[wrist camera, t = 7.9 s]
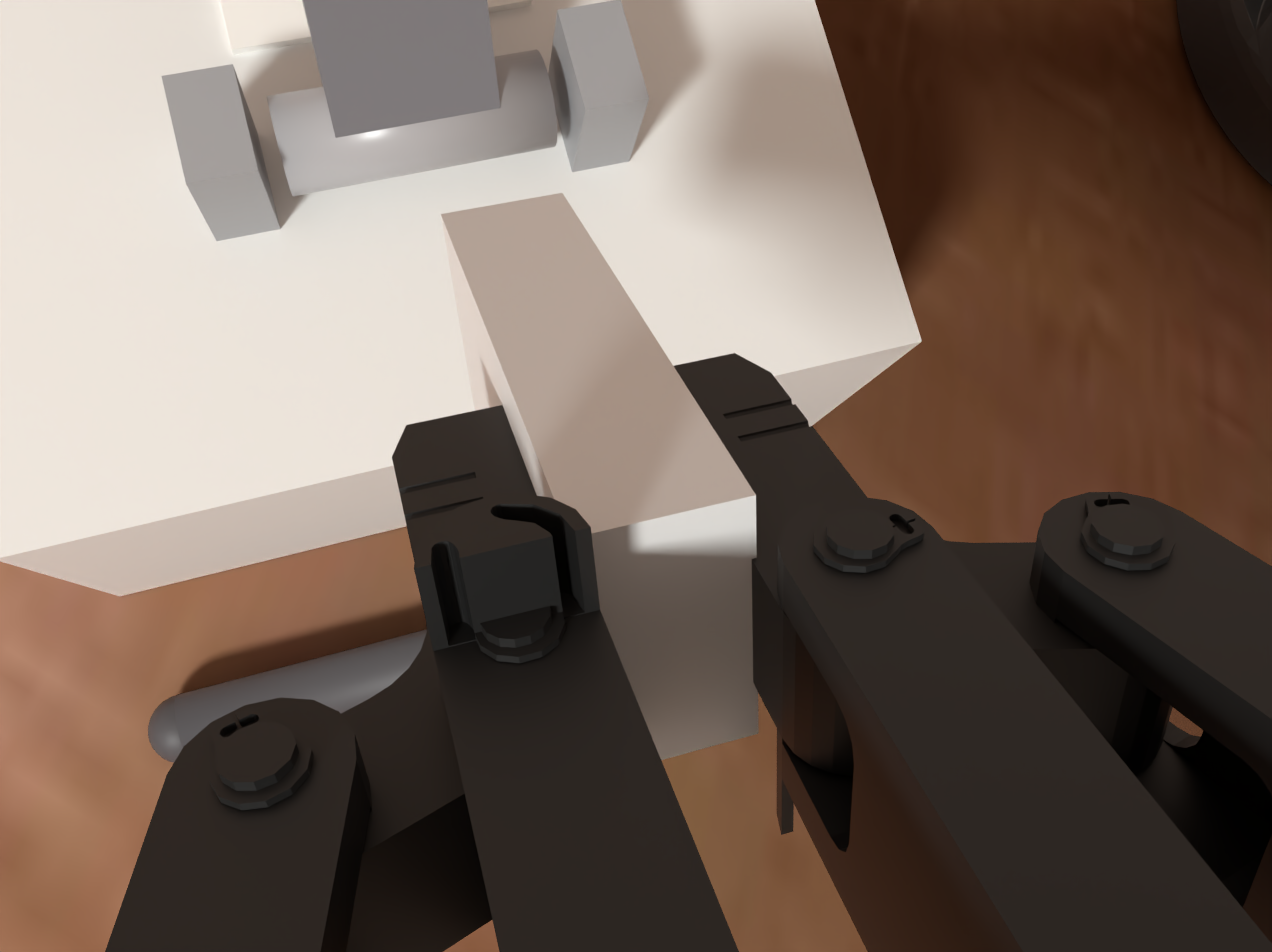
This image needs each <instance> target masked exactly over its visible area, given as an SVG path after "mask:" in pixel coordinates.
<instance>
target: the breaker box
mask: <svg viewBox="0 0 1272 952" xmlns="http://www.w3.org/2000/svg"><path fill="white" fill-rule="evenodd" d="M487 3H488V11H489V19H490V27H491V35H492V43H493V51H494V57H495V56H501V55H506V54H512V53H518V52H524V51H530V50H535V49H537V50H538V51H539V52H540V54H541V56H542V58H543V60H544V63H545V65H546V69H547V72H548V75H549V79H550V83H551V88H552V92H553V98H554V103H555V110H556V118H557V143H556V146H555V147H552V148H546V149H541V150H536V151H530V152H525V153H520V154H515V155H509V156H504V157H499V158H493V159H488V160H483V161H478V162H472V163H467V164H462V165H456V166H451V167H446V168H441V169H435V170H430V171H425V172H419V173H414V174H409V175H404V176H398V177H393V178H388V179H383V180H377V181H372V182H367V183H361V184H356V185H351V186H346V187H340V188H335V189H330V190H324V191H319V192H314V193H309V194H303V195H298V196H292V194H291V191H290V187H289V184H288V181H287V177H286V174H285V170H284V166H283V163H282V159H281V155H280V151H279V148H278V144H277V140H276V136H275V132H274V128H273V123H272V119H271V115H270V111H269V106H268V101H267V96H269V95H275V94H281V93H287V92H293V91H298V90H304V89H310V88H316V87H321V86H322V83H321V78H320V74H319V70H318V66H317V62H316V57H315V53H314V49H313V45H312V41H311V36H310V32H309V28H308V24H307V20H306V15H305V11H304V7H303V3H302V0H0V561H1V562H4V563H8V564H11V565H15V566H18V567H21V568H25V569H28V570H32V571H35V572H38V573H42V574H45V575H49V576H52V577H56V578H59V579H62V580H66V581H69V582H73V583H76V584H79V585H83V586H86V587H90V588H93V589H97V590H100V591H103V592H107V593H110V594H114V595H117V596H124V595H128V594H132V593H136V592H140V591H144V590H148V589H152V588H156V587H160V586H164V585H168V584H173V583H177V582H181V581H185V580H189V579H193V578H197V577H201V576H205V575H209V574H213V573H217V572H222V571H226V570H230V569H234V568H238V567H242V566H246V565H250V564H254V563H258V562H262V561H266V560H271V559H275V558H279V557H283V556H287V555H291V554H295V553H299V552H303V551H307V550H311V549H315V548H320V547H324V546H328V545H332V544H336V543H340V542H344V541H348V540H352V539H356V538H360V537H364V536H369V535H373V534H377V533H381V532H385V531H389V530H393V529H397V528H401V527H405V526H407V525H406V520H405V515H404V511H403V506H402V502H401V497H400V492H399V488H398V483H397V479H396V474H395V470H394V465H393V460H392V455H393V453H394V451H395V449H396V446H397V444H398V442H399V440H400V438H401V435H402V433H403V431H404V429H405V427H406V425H409V424H414V423H418V422H423V421H428V420H433V419H438V418H442V417H447V416H452V415H457V414H462V413H466V412H471V411H475V408H474V403H473V397H472V391H471V385H470V380H469V374H468V368H467V363H466V357H465V351H464V345H463V340H462V334H461V328H460V322H459V317H458V311H457V305H456V299H455V294H454V288H453V282H452V276H451V271H450V265H449V259H448V254H447V248H446V242H445V236H444V231H443V225H442V219H441V214H444V213H450V212H455V211H461V210H467V209H472V208H478V207H484V206H490V205H495V204H501V203H507V202H512V201H518V200H524V199H529V198H535V197H541V196H546V195H552V194H558V193H563V194H564V196H565V198H566V199H567V201H568V202H569V204H570V205H571V207H572V208H573V210H574V212H575V213H576V215H577V216H578V218H579V219H580V221H581V223H582V224H583V226H584V227H585V229H586V230H587V232H588V233H589V235H590V237H591V238H592V240H593V241H594V243H595V244H596V246H597V248H598V249H599V251H600V252H601V254H602V255H603V257H604V258H605V260H606V262H607V263H608V265H609V266H610V268H611V269H612V271H613V273H614V274H615V276H616V277H617V279H618V280H619V282H620V283H621V285H622V287H623V288H624V290H625V291H626V293H627V294H628V296H629V298H630V299H631V301H632V302H633V304H634V305H635V307H636V308H637V310H638V312H639V313H640V315H641V316H642V318H643V319H644V321H645V322H646V324H647V326H648V327H649V329H650V330H651V332H652V333H653V335H654V337H655V338H656V340H657V341H658V343H659V344H660V346H661V347H662V349H663V351H664V352H665V354H666V355H667V357H668V358H669V360H670V362H671V363H672V365H673V366H675V365H680V364H684V363H689V362H694V361H699V360H704V359H708V358H713V357H718V356H723V355H728V354H732V353H736V354H738V355H739V356H741V357H743V358H745V359H747V360H749V361H751V362H752V363H754V364H756V365H758V366H760V367H762V368H764V369H765V370H767V371H769V372H771V373H772V374H773V376H774V377H775V378H776V380H777V381H778V382H779V384H780V385H781V386H782V387H783V389H784V390H785V391H786V393H787V394H788V395H789V397H790V398H791V400H792V404H793V405H794V404H796V406H797V407H798V408H799V409H800V411H801V412H802V413H803V415H804V416H805V417H806V419H807V420H808V424H809V427H810V426H812V425H813V424H815V423H816V422H817V421H819V420H820V419H821V418H823V417H824V416H825V415H826V414H828V413H829V412H830V411H832V410H833V409H834V408H836V407H837V406H838V405H839V404H841V403H842V402H843V401H845V400H846V399H847V398H849V397H850V396H851V395H853V394H854V393H855V392H856V391H858V390H859V389H860V388H862V387H863V386H864V385H866V384H867V383H868V382H870V381H871V380H872V379H873V378H875V377H876V376H877V375H879V374H880V373H881V372H883V371H884V370H885V369H886V368H888V367H889V366H890V365H892V364H893V363H894V362H896V361H897V360H898V359H900V358H901V357H902V356H903V355H905V354H906V353H907V352H909V351H910V350H911V349H913V348H914V347H915V346H917V345H918V344H919V343H920V342H922V340H921V337H920V334H919V331H918V328H917V325H916V321H915V318H914V315H913V312H912V309H911V305H910V302H909V299H908V296H907V293H906V290H905V286H904V283H903V280H902V277H901V274H900V270H899V267H898V264H897V261H896V258H895V254H894V251H893V248H892V245H891V242H890V239H889V235H888V232H887V229H886V226H885V223H884V219H883V216H882V213H881V210H880V207H879V204H878V200H877V197H876V194H875V191H874V188H873V184H872V181H871V178H870V175H869V172H868V168H867V165H866V162H865V159H864V156H863V153H862V149H861V146H860V143H859V140H858V137H857V133H856V130H855V127H854V124H853V121H852V118H851V114H850V111H849V108H848V105H847V102H846V98H845V95H844V92H843V89H842V86H841V83H840V79H839V76H838V73H837V70H836V67H835V63H834V60H833V57H832V54H831V51H830V47H829V44H828V41H827V38H826V35H825V32H824V28H823V25H822V22H821V19H820V16H819V12H818V9H817V6H816V3H815V0H487ZM426 633H427V629H426V630H423V631H419V632H415V633H411V634H407V635H404V636H400V637H396V638H392V639H388V640H385V641H381V642H377V643H373V644H369V645H365V646H362V647H358V648H354V649H350V650H346V651H343V652H339V653H335V654H331V655H327V656H323V657H320V658H316V659H312V660H308V661H304V662H301V663H297V664H293V665H289V666H285V667H281V668H278V669H274V670H270V671H266V672H262V673H259V674H255V675H251V676H247V677H243V678H240V679H236V680H232V681H228V682H224V683H220V684H217V685H213V686H209V687H205V688H201V689H198V690H194V691H190V692H186V693H182V694H178V695H176V696H173V697H170V698H169V699H167V700H165V701H164V702H162V703H161V704H160V705H159V706H158V707H157V708H156V710H155V711H154V713H153V714H152V716H151V718H150V722H149V726H148V736H149V741H150V743H151V745H152V747H153V749H154V750H155V751H156V753H157V754H158V755H160V756H161V757H162V758H164V759H165V760H168V761H170V762H175V760H176V759H177V757H178V755H179V754H180V752H181V750H182V749H183V747H184V746H185V745H186V744H187V743H188V742H189V741H190V740H192V739H193V738H194V737H195V736H196V735H197V734H198V733H199V732H201V731H202V730H203V729H204V728H205V727H206V726H207V725H209V724H210V723H211V722H212V721H214V720H216V719H218V718H220V717H222V716H224V715H226V714H228V713H230V712H232V711H234V710H236V709H238V708H240V707H242V706H244V705H248V704H253V703H257V702H262V701H266V700H271V699H275V698H280V697H282V698H296V699H311V700H315V701H317V702H319V703H322V704H324V705H326V706H328V707H330V708H332V709H334V710H336V711H339V712H340V714H341V713H343V712H345V711H347V710H349V709H351V708H353V707H354V706H356V705H358V704H360V703H362V702H364V701H366V700H368V699H369V698H371V697H373V696H374V695H376V694H377V693H379V692H380V691H382V690H384V689H385V688H387V687H388V686H390V685H391V684H392V683H393V682H394V681H396V680H397V679H398V678H399V677H400V676H401V675H402V674H403V673H404V672H405V671H406V670H407V669H408V668H409V667H410V665H411V664H412V662H413V661H414V660H415V658H416V657H417V655H418V654H419V652H420V651H421V648H422V645H423V642H424V639H425V636H426Z"/></svg>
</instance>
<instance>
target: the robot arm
mask: <svg viewBox="0 0 1272 952" xmlns="http://www.w3.org/2000/svg"><path fill="white" fill-rule="evenodd" d="M1176 1H1177V12H1178V19H1179V25H1180V31H1181V35H1182V39H1183V43H1184V47H1185V51H1186V54H1187V57H1188V60H1189V63H1190V66H1191V69H1192V71H1193V74H1194V77H1195V79H1196V82H1197V84H1198V86H1199V88H1200V90H1201V92H1202V94H1203V97H1204V99H1205V101H1206V102H1207V104H1208V106H1209V108H1210V110H1211V111H1212V113H1213V115H1214V117H1215V118H1216V120H1217V121H1218V123H1219V124H1220V126H1221V127H1222V129H1223V131H1224V132H1225V133H1226V135H1227V136H1228V138H1229V139H1230V140H1231V142H1232V143H1233V144H1234V146H1235V147H1236V148H1237V149H1238V151H1239V152H1240V153H1241V154H1242V155H1243V156H1244V158H1245V159H1246V160H1247V161H1248V162H1249V163H1250V164H1251V165H1252V167H1253V168H1254V169H1255V170H1256V171H1257V172H1258V173H1259V174H1260V175H1261V176H1262V177H1263V178H1264V179H1265V180H1267V181H1268V182H1269V183H1270V184H1271V185H1272V0H1176ZM441 219H442V225H443V231H444V236H445V242H446V248H447V254H448V259H449V265H450V271H451V276H452V282H453V288H454V294H455V299H456V305H457V311H458V317H459V322H460V328H461V334H462V340H463V345H464V351H465V357H466V363H467V368H468V374H469V380H470V385H471V391H472V397H473V403H474V408H475V411H471V412H466V413H462V414H457V415H452V416H447V417H442V418H438V419H433V420H428V421H423V422H418V423H414V424H409V425H406V427H405V429H404V431H403V433H402V435H401V438H400V440H399V442H398V444H397V446H396V449H395V451H394V453H393V455H392V460H393V465H394V470H395V474H396V479H397V483H398V488H399V492H400V497H401V502H402V506H403V511H404V515H405V520H406V525H407V529H408V534H409V539H410V543H411V548H412V552H413V557H414V562H415V565H414V570H415V574H416V579H417V583H418V587H419V592H420V596H421V600H422V605H423V609H424V613H425V618H426V627H427V633H426V636H425V639H424V642H423V645H422V648H421V651H420V652H419V654H418V655H417V657H416V658H415V660H414V661H413V662H412V664H411V665H410V667H409V668H408V669H407V670H406V671H405V672H404V673H403V674H402V675H401V676H400V677H399V678H398V679H397V680H396V681H394V682H393V683H392V684H391V685H390V686H388V687H387V688H385V689H384V690H382V691H380V692H379V693H377V694H376V695H374V696H373V697H371V698H369V699H368V700H366V701H364V702H362V703H360V704H358V705H356V706H354V707H353V708H351V709H349V710H347V711H345V712H343V713H341V714H340V712H339V711H336V710H334V709H332V708H330V707H328V706H326V705H324V704H322V703H319V702H317V701H315V700H311V699H296V698H282V697H280V698H275V699H271V700H266V701H262V702H257V703H253V704H248V705H244V706H242V707H240V708H238V709H236V710H234V711H232V712H230V713H228V714H226V715H224V716H222V717H220V718H218V719H216V720H214V721H212V722H211V723H210V724H209V725H207V726H206V727H205V728H204V729H203V730H202V731H201V732H199V733H198V734H197V735H196V736H195V737H194V738H193V739H192V740H190V741H189V742H188V743H187V744H186V745H185V746H184V747H183V749H182V750H181V752H180V754H179V755H178V757H177V759H176V760H175V762H174V764H173V766H172V767H171V769H170V771H169V772H168V774H167V776H166V779H165V782H164V785H163V788H162V791H161V793H160V796H159V799H158V802H157V805H156V808H155V811H154V813H153V816H152V819H151V822H150V825H149V828H148V831H147V834H146V836H145V839H144V842H143V845H142V848H141V851H140V854H139V856H138V859H137V862H136V865H135V868H134V871H133V874H132V876H131V879H130V882H129V885H128V888H127V891H126V894H125V897H124V899H123V902H122V905H121V908H120V911H119V914H118V917H117V919H116V922H115V925H114V928H113V931H112V934H111V937H110V939H109V942H108V945H107V948H106V951H105V952H443V951H444V950H446V949H448V948H449V947H451V946H452V945H454V944H455V943H457V942H458V941H460V940H461V939H463V938H464V937H466V936H468V935H469V934H471V933H472V932H474V931H475V930H477V929H478V928H480V927H481V926H483V925H484V924H486V923H488V922H489V921H491V920H492V919H493V924H494V928H495V933H496V937H497V942H498V946H499V951H500V952H739V951H738V949H737V946H736V944H735V941H734V939H733V936H732V934H731V931H730V929H729V926H728V924H727V921H726V919H725V917H724V914H723V912H722V909H721V907H720V904H719V902H718V899H717V897H716V894H715V892H714V889H713V887H712V884H711V882H710V880H709V877H708V875H707V872H706V870H705V867H704V865H703V862H702V860H701V857H700V855H699V852H698V850H697V847H696V845H695V843H694V840H693V838H692V835H691V833H690V830H689V828H688V825H687V823H686V820H685V818H684V815H683V813H682V810H681V808H680V806H679V803H678V801H677V798H676V796H675V793H674V791H673V788H672V786H671V783H670V781H669V778H668V776H667V773H666V771H665V768H664V766H663V764H662V761H661V760H663V759H667V758H670V757H674V756H678V755H681V754H685V753H689V752H692V751H696V750H700V749H703V748H707V747H711V746H714V745H718V744H722V743H725V742H729V741H733V740H736V739H740V738H744V737H747V736H751V735H754V734H758V693H759V694H760V696H761V698H762V700H763V702H764V704H765V706H766V708H767V710H768V712H769V714H770V716H771V718H772V719H773V721H774V723H775V725H776V727H777V817H778V821H779V826H780V830H781V835H782V834H786V833H789V832H792V831H793V803H794V804H795V806H796V808H797V810H798V812H799V814H800V816H801V818H802V821H803V823H804V825H805V827H806V829H807V831H808V833H809V835H810V837H811V839H812V841H813V843H814V845H815V847H816V849H817V851H818V853H819V855H820V857H821V859H822V861H823V863H824V865H825V867H826V869H827V871H828V873H829V875H830V877H831V879H832V881H833V883H834V885H835V887H836V889H837V891H838V893H839V895H840V897H841V899H842V901H843V903H844V905H845V907H846V909H847V911H848V913H849V915H850V917H851V919H852V921H853V923H854V925H855V927H856V929H857V931H858V933H859V935H860V937H861V939H862V941H863V943H864V945H865V947H866V949H867V951H868V952H1272V566H1270V565H1268V564H1267V563H1265V562H1263V561H1262V560H1260V559H1259V558H1257V557H1255V556H1254V555H1252V554H1250V553H1249V552H1247V551H1245V550H1244V549H1242V548H1240V547H1239V546H1237V545H1236V544H1234V543H1232V542H1231V541H1229V540H1227V539H1226V538H1224V537H1222V536H1221V535H1219V534H1217V533H1216V532H1214V531H1212V530H1211V529H1209V528H1208V527H1206V526H1204V525H1203V524H1201V523H1199V522H1198V521H1196V520H1194V519H1193V518H1191V517H1189V516H1188V515H1186V514H1184V513H1183V512H1181V511H1179V510H1176V509H1174V508H1172V507H1170V506H1168V505H1165V504H1163V503H1161V502H1159V501H1156V500H1154V499H1151V498H1146V497H1141V496H1137V495H1132V494H1127V493H1122V492H1089V493H1085V494H1081V495H1078V496H1074V497H1071V498H1067V499H1063V500H1061V501H1060V502H1059V503H1057V504H1056V505H1055V506H1053V507H1052V508H1051V509H1050V510H1048V511H1047V512H1046V513H1044V516H1043V519H1042V522H1041V525H1040V527H1039V530H1038V535H1037V541H1036V542H1035V543H965V542H949V541H944V540H943V539H942V538H941V537H940V535H939V534H938V533H937V532H936V531H935V529H934V528H933V527H932V526H931V525H930V524H928V523H927V522H926V521H925V520H923V519H922V518H921V517H920V516H919V515H917V514H916V513H915V512H914V511H912V510H909V509H907V508H904V507H902V506H899V505H897V504H894V503H892V502H889V501H887V500H879V499H872V498H867V496H866V495H865V494H864V493H863V491H862V490H861V489H860V487H859V486H858V485H857V484H856V482H855V481H854V480H853V478H852V477H851V476H850V474H849V473H848V472H847V471H846V469H845V468H844V467H843V465H842V464H841V463H840V461H839V460H838V459H837V458H836V456H835V455H834V454H833V452H832V451H831V450H830V448H829V447H828V446H827V445H826V443H825V442H824V441H823V439H822V438H821V437H820V435H819V434H818V433H817V432H816V430H815V429H814V428H813V426H810V427H809V424H808V420H807V419H806V417H805V416H804V415H803V413H802V412H801V411H800V409H799V408H798V407H797V406H796V404H794V405H793V404H792V400H791V398H790V397H789V395H788V394H787V393H786V391H785V390H784V389H783V387H782V386H781V385H780V384H779V382H778V381H777V380H776V378H775V377H774V376H773V374H772V373H771V372H769V371H767V370H765V369H764V368H762V367H760V366H758V365H756V364H754V363H752V362H751V361H749V360H747V359H745V358H743V357H741V356H739V355H738V354H736V353H732V354H728V355H723V356H718V357H713V358H708V359H704V360H699V361H694V362H689V363H684V364H680V365H675V366H673V365H672V363H671V362H670V360H669V358H668V357H667V355H666V354H665V352H664V351H663V349H662V347H661V346H660V344H659V343H658V341H657V340H656V338H655V337H654V335H653V333H652V332H651V330H650V329H649V327H648V326H647V324H646V322H645V321H644V319H643V318H642V316H641V315H640V313H639V312H638V310H637V308H636V307H635V305H634V304H633V302H632V301H631V299H630V298H629V296H628V294H627V293H626V291H625V290H624V288H623V287H622V285H621V283H620V282H619V280H618V279H617V277H616V276H615V274H614V273H613V271H612V269H611V268H610V266H609V265H608V263H607V262H606V260H605V258H604V257H603V255H602V254H601V252H600V251H599V249H598V248H597V246H596V244H595V243H594V241H593V240H592V238H591V237H590V235H589V233H588V232H587V230H586V229H585V227H584V226H583V224H582V223H581V221H580V219H579V218H578V216H577V215H576V213H575V212H574V210H573V208H572V207H571V205H570V204H569V202H568V201H567V199H566V198H565V196H564V194H563V193H558V194H552V195H546V196H541V197H535V198H529V199H524V200H518V201H512V202H507V203H501V204H495V205H490V206H484V207H478V208H472V209H467V210H461V211H455V212H450V213H444V214H441ZM1172 707H1174V708H1175V709H1176V710H1177V711H1179V712H1180V713H1181V714H1183V715H1184V716H1185V717H1187V718H1188V719H1189V720H1191V721H1192V722H1193V723H1195V724H1196V725H1197V726H1199V727H1200V728H1201V729H1203V733H1202V736H1201V737H1198V736H1193V735H1190V734H1188V733H1186V732H1184V731H1183V730H1181V729H1179V728H1177V727H1176V726H1175V725H1173V724H1172V723H1171V722H1170V721H1169V718H1170V714H1171V711H1172Z"/></svg>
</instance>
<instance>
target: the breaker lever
mask: <svg viewBox="0 0 1272 952" xmlns="http://www.w3.org/2000/svg"><path fill="white" fill-rule="evenodd" d="M302 3H303V7H304V11H305V15H306V20H307V24H308V28H309V32H310V36H311V41H312V45H313V49H314V53H315V57H316V62H317V66H318V70H319V74H320V78H321V83H322V86H321V87H316V88H310V89H304V90H298V91H293V92H287V93H281V94H275V95H269V96H267V101H268V106H269V111H270V115H271V119H272V123H273V128H274V132H275V136H276V140H277V144H278V148H279V151H280V155H281V159H282V163H283V166H284V170H285V174H286V177H287V181H288V184H289V187H290V191H291V194H292V196H298V195H303V194H309V193H314V192H319V191H324V190H330V189H335V188H340V187H346V186H351V185H356V184H361V183H367V182H372V181H377V180H383V179H388V178H393V177H398V176H404V175H409V174H414V173H419V172H425V171H430V170H435V169H441V168H446V167H451V166H456V165H462V164H467V163H472V162H478V161H483V160H488V159H493V158H499V157H504V156H509V155H515V154H520V153H525V152H530V151H536V150H541V149H546V148H552V147H555V146H556V143H557V118H556V110H555V103H554V98H553V92H552V88H551V83H550V79H549V75H548V72H547V69H546V65H545V63H544V60H543V58H542V56H541V54H540V52H539V51H538V50H537V49H535V50H530V51H524V52H518V53H512V54H506V55H501V56H495V57H494V51H493V43H492V35H491V27H490V19H489V11H488V3H487V0H302Z"/></svg>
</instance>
